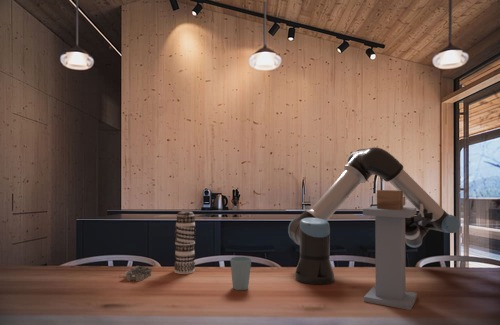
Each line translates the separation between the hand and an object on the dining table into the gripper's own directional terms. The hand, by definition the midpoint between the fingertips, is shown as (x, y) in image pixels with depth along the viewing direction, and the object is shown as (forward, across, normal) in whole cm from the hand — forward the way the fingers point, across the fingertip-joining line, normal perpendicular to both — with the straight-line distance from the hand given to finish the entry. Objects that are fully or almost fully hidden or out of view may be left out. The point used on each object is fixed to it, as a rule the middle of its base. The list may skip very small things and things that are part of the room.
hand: (402, 205), depth 141 cm
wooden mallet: (+14, 0, +7) cm, 15 cm away
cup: (+23, -48, +47) cm, 71 cm away
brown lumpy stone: (+33, -88, +53) cm, 108 cm away
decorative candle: (+18, -80, +44) cm, 93 cm away
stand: (+7, 0, +38) cm, 39 cm away
